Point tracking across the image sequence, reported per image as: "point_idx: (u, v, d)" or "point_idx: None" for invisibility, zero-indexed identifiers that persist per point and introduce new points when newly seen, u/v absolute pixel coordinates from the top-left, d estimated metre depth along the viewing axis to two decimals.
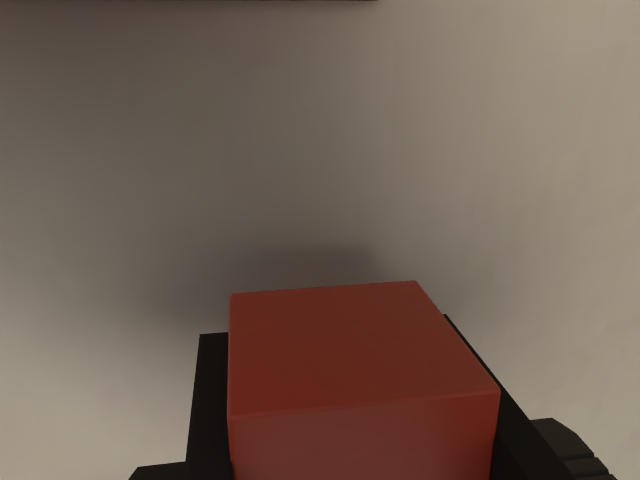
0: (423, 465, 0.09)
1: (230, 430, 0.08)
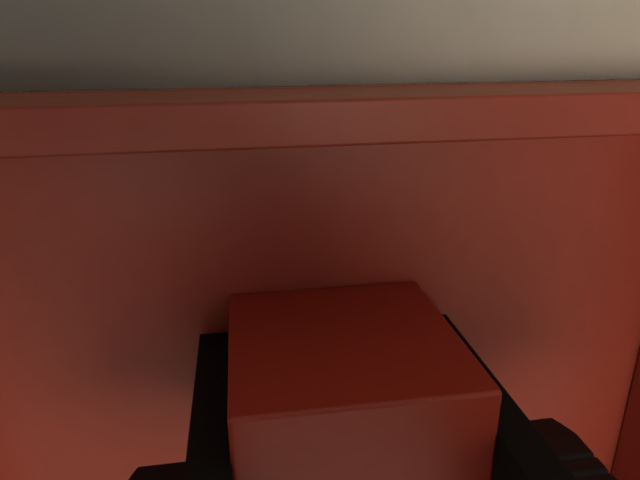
0: (423, 467, 0.09)
1: (231, 433, 0.08)
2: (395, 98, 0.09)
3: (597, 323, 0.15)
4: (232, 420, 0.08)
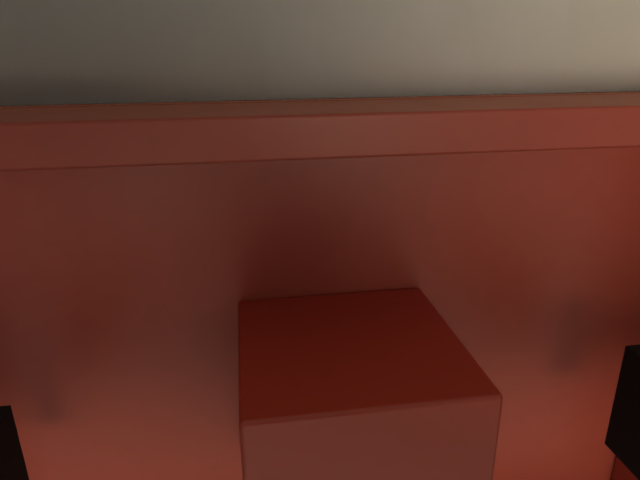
0: (427, 468, 0.10)
1: (242, 435, 0.09)
2: (398, 112, 0.10)
3: (596, 329, 0.15)
4: (243, 423, 0.09)
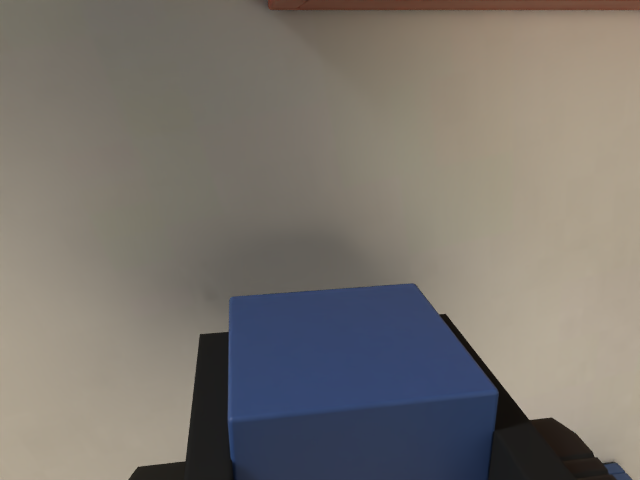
0: None
1: None
2: None
3: None
4: None
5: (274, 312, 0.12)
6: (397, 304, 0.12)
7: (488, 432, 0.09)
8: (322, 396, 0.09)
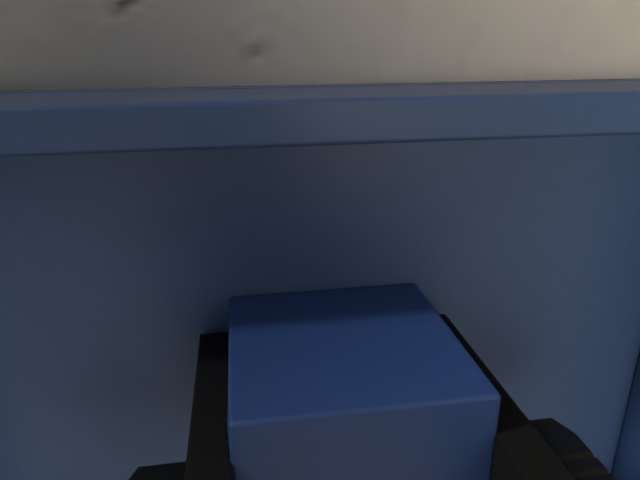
0: None
1: None
2: None
3: None
4: None
5: (274, 313, 0.12)
6: (398, 305, 0.12)
7: (490, 437, 0.09)
8: (324, 400, 0.09)
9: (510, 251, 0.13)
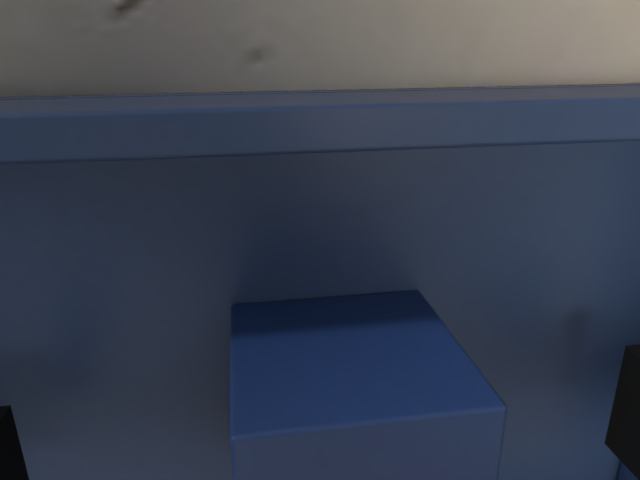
0: None
1: None
2: None
3: None
4: None
5: (276, 322, 0.12)
6: (402, 313, 0.12)
7: (496, 448, 0.09)
8: (327, 412, 0.09)
9: (513, 258, 0.13)
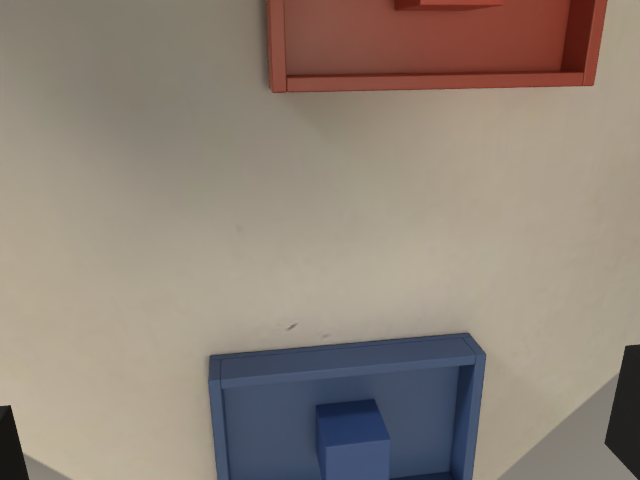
0: None
1: None
2: None
3: None
4: None
5: (331, 412, 0.40)
6: (368, 408, 0.40)
7: (388, 449, 0.37)
8: (347, 441, 0.37)
9: (405, 388, 0.41)
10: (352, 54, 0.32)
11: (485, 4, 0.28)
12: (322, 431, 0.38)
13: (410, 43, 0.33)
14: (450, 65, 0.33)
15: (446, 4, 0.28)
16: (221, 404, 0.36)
